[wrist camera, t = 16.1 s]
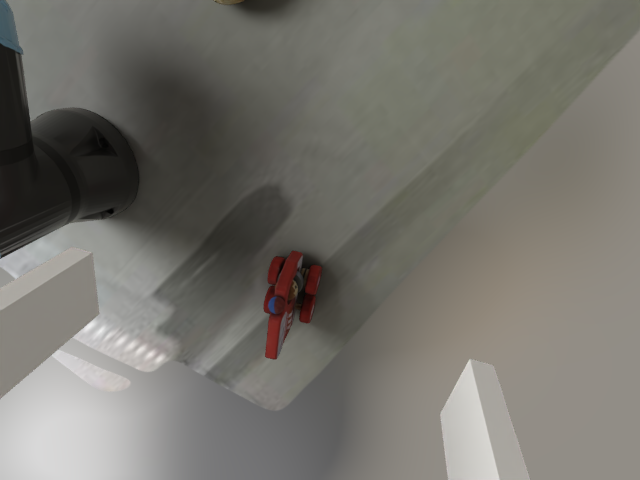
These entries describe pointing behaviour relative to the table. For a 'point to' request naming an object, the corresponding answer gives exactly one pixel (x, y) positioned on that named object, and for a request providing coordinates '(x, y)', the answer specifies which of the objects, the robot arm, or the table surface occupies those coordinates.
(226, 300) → the table surface
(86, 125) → the robot arm
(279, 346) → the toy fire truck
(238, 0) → the onion
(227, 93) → the table surface
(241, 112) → the table surface
